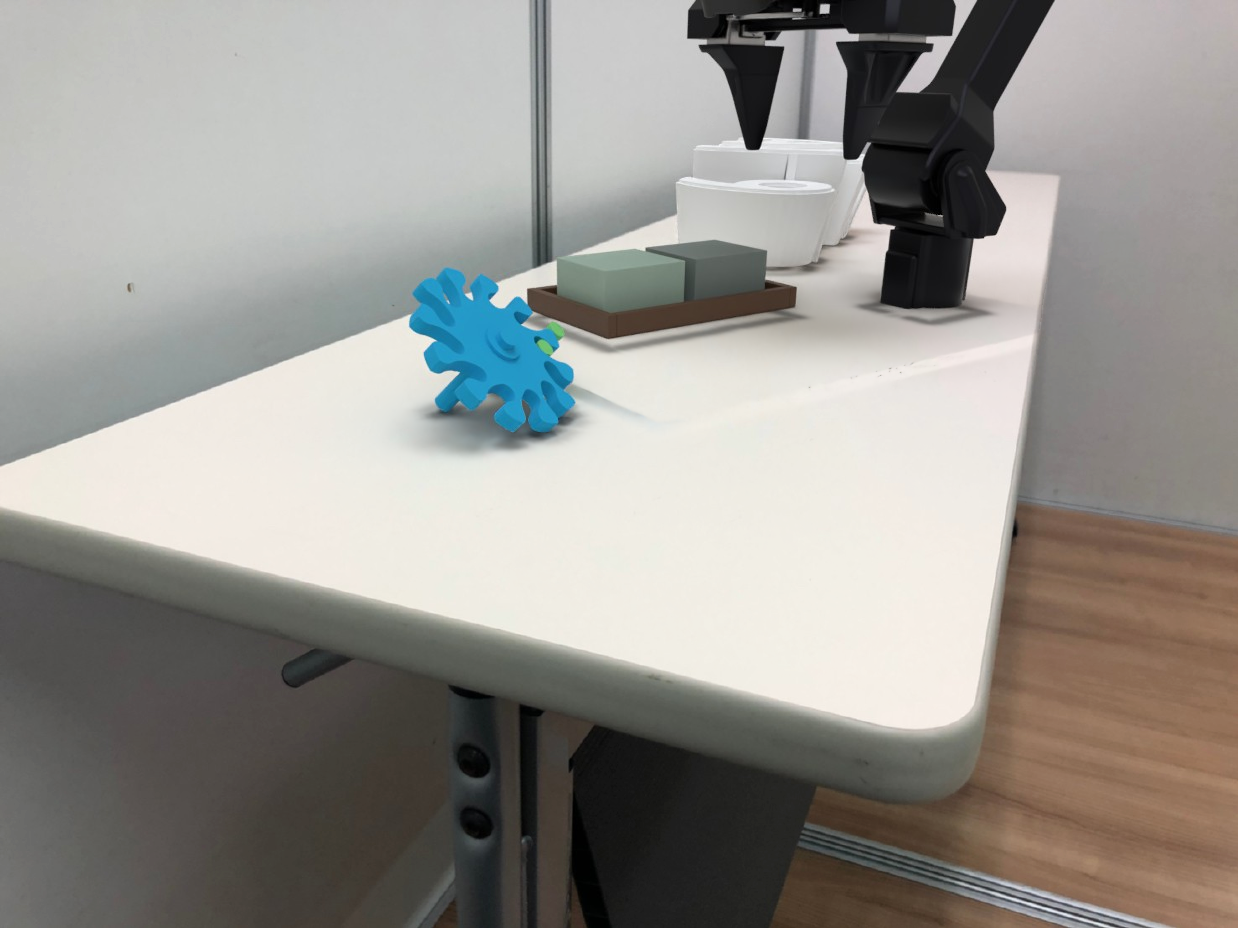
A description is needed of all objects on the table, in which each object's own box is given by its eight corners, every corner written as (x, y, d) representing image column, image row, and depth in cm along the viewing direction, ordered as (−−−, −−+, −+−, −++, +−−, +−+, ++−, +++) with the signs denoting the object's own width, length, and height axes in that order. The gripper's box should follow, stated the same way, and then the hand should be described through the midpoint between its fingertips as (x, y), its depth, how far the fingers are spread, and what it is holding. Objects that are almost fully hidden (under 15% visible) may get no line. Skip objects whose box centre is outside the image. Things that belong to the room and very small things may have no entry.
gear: (498, 433, 44) (388, 259, 46) (426, 500, 47) (325, 335, 49) (623, 402, 53) (527, 258, 55) (556, 459, 57) (467, 322, 58)
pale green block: (634, 301, 74) (635, 248, 73) (683, 316, 70) (685, 260, 68) (557, 312, 71) (556, 257, 69) (604, 329, 66) (604, 270, 65)
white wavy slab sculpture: (753, 222, 120) (758, 132, 116) (887, 232, 114) (898, 137, 110) (639, 269, 90) (641, 151, 87) (812, 286, 84) (823, 160, 80)
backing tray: (705, 292, 81) (707, 265, 81) (794, 316, 74) (797, 286, 73) (527, 319, 72) (526, 288, 71) (608, 350, 64) (608, 316, 63)
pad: (712, 289, 79) (714, 239, 77) (764, 302, 74) (767, 250, 73) (644, 299, 75) (645, 247, 73) (693, 314, 70) (696, 259, 69)
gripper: (627, -102, 63) (623, 149, 69) (845, -149, 49) (817, 171, 55) (753, -85, 69) (740, 144, 75) (978, -123, 55) (941, 163, 61)
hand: (799, 154), depth 66 cm, fingers open, 9 cm apart
